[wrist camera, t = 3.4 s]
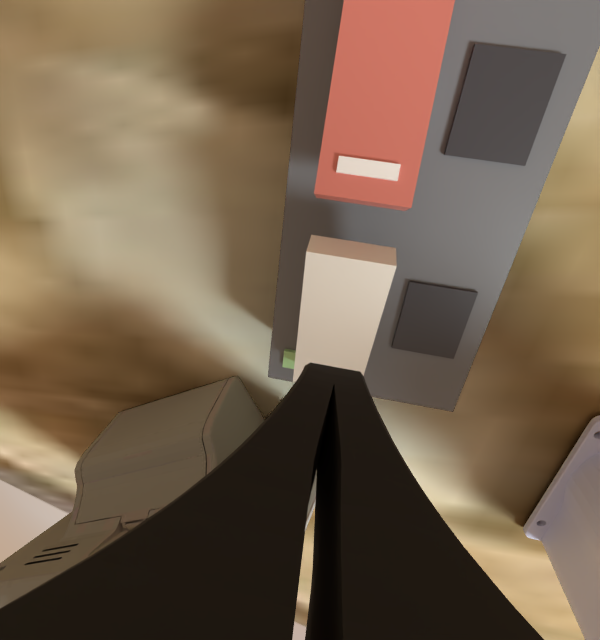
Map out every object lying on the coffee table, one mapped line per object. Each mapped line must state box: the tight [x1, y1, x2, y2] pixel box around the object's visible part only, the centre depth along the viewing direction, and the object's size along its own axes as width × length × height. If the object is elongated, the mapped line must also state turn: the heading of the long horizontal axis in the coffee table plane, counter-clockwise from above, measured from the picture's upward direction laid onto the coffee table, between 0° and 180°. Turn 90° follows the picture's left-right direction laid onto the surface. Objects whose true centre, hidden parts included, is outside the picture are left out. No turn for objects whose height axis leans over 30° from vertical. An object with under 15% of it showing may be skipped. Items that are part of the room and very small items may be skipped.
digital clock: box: [0, 376, 317, 608], centre depth 19 cm, size 16×9×11 cm, turn 103°
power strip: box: [268, 0, 600, 412], centre depth 11 cm, size 26×8×4 cm, turn 173°
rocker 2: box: [293, 235, 397, 382], centre depth 13 cm, size 6×3×1 cm, turn 174°
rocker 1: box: [314, 0, 455, 211], centre depth 10 cm, size 6×3×1 cm, turn 172°
